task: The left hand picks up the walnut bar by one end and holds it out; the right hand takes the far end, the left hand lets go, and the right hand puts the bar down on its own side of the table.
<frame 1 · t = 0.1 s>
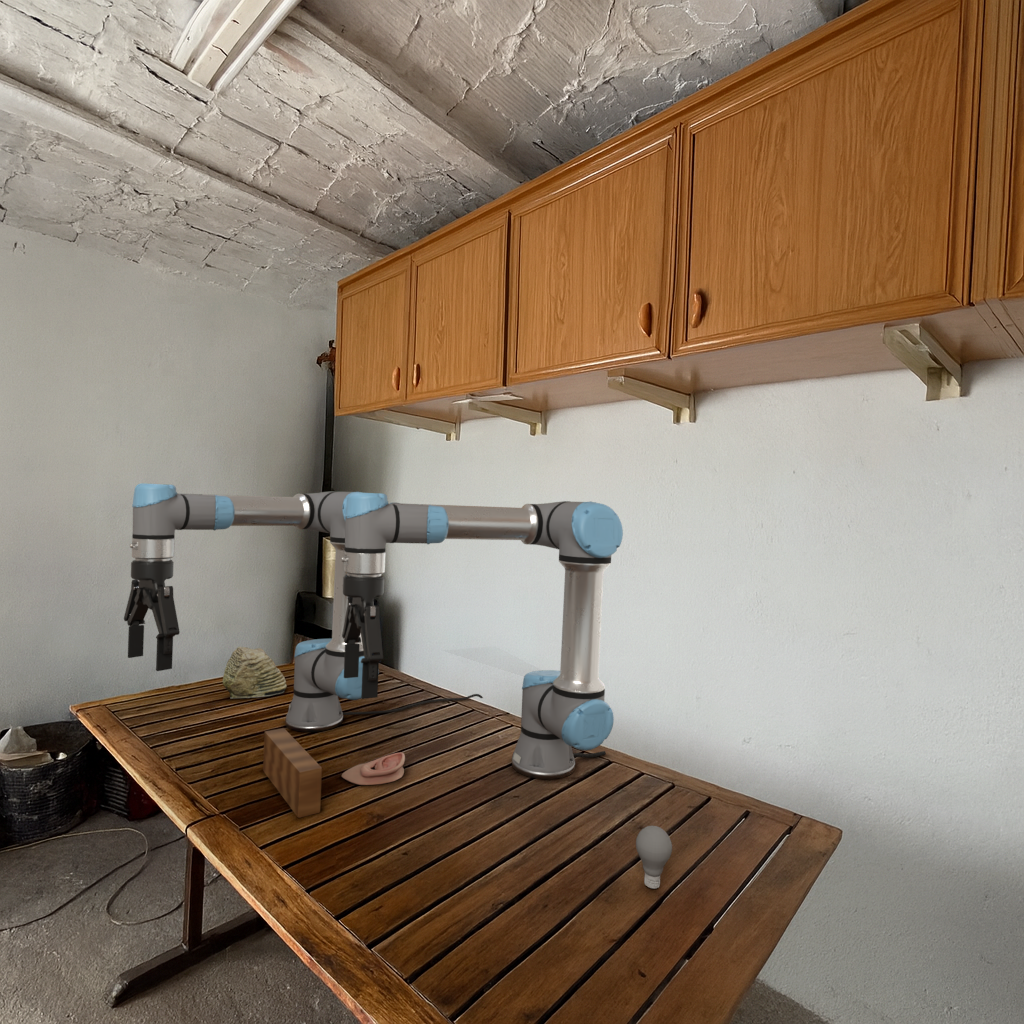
left hand: (149, 663, 129), 28 cm above the table, tool pointing down, fingers open, 13 cm apart
right hand: (359, 687, 119), 28 cm above the table, tool pointing down, fingers open, 13 cm apart
light bulb: (651, 887, 107), on the table
bar: (289, 790, 136), on the table
anatomical model: (373, 775, 145), on the table
fossil: (254, 694, 198), on the table
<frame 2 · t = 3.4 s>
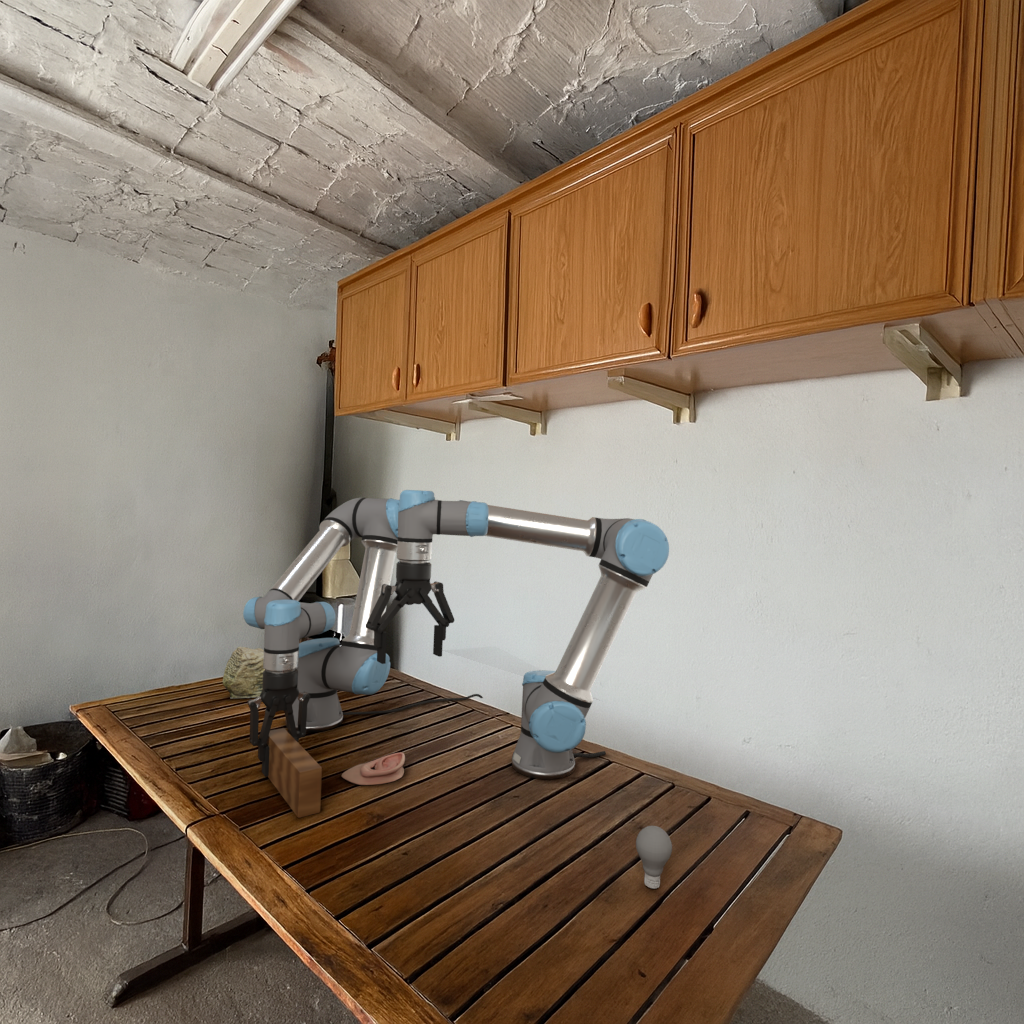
left hand: (276, 771, 144), 1 cm above the table, tool pointing down, fingers closed on bar, 4 cm apart
right hand: (410, 658, 138), 29 cm above the table, tool pointing down, fingers open, 13 cm apart
bar: (289, 790, 136), on the table, touching left hand
everything else where it was.
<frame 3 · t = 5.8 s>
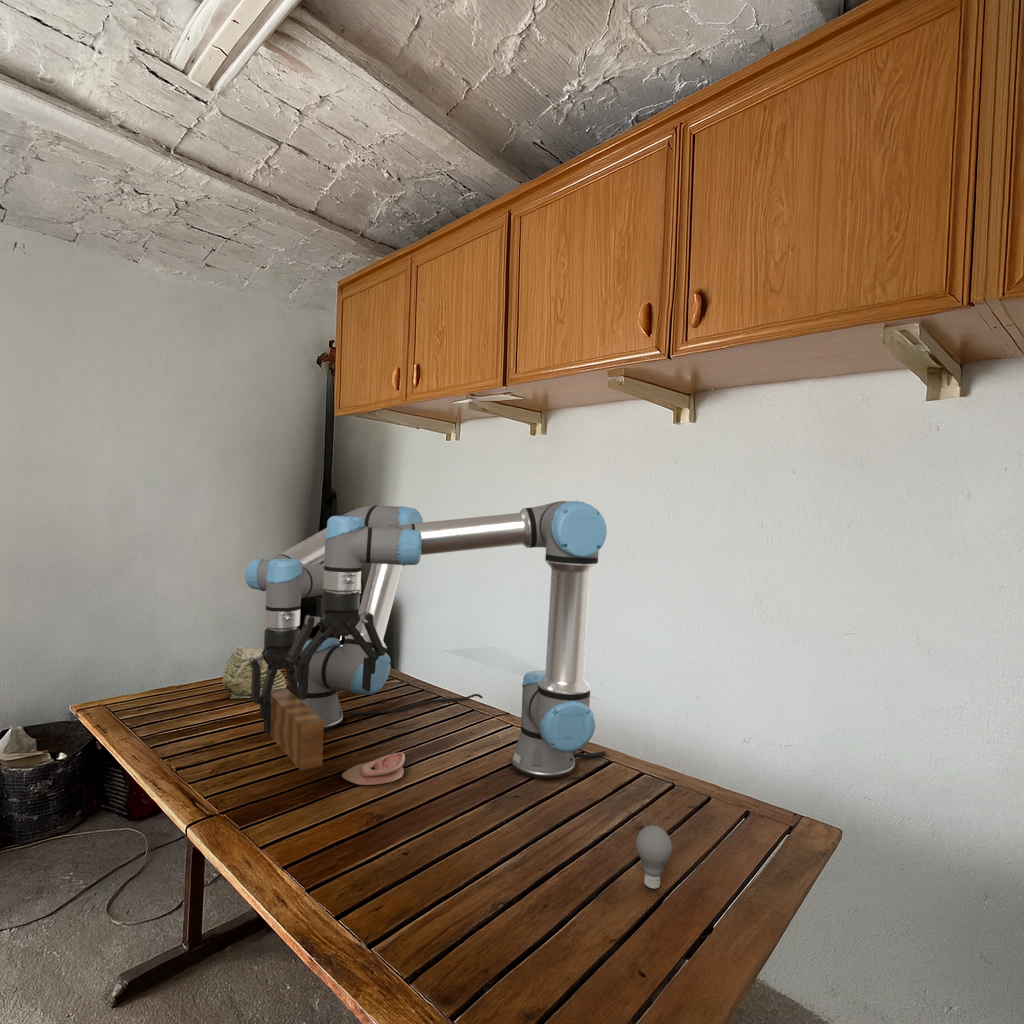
left hand: (278, 729, 144), 10 cm above the table, tool pointing down, fingers closed on bar, 4 cm apart
right hand: (334, 693, 131), 23 cm above the table, tool pointing down, fingers open, 13 cm apart
bar: (291, 746, 136), point 9 cm above the table, touching left hand
everything else where it was.
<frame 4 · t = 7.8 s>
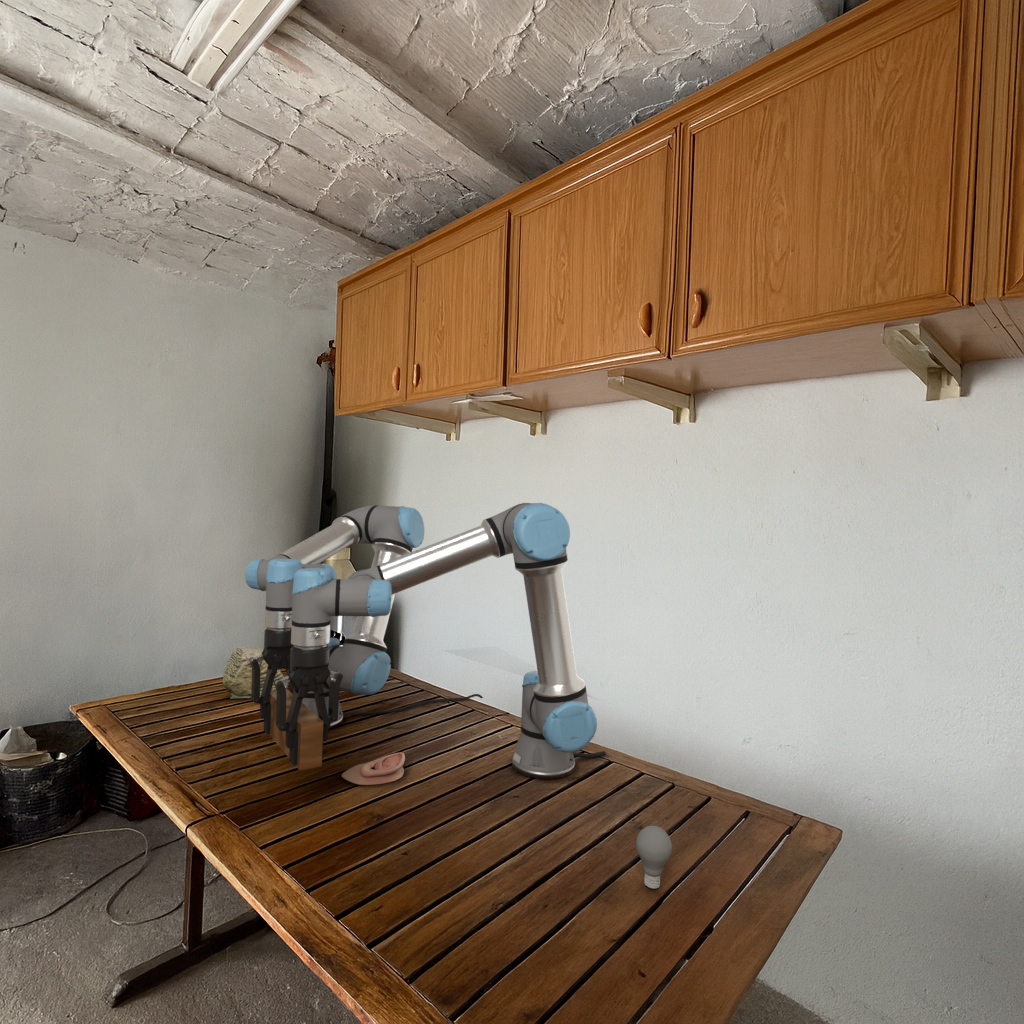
left hand: (278, 729, 144), 10 cm above the table, tool pointing down, fingers closed on bar, 4 cm apart
right hand: (306, 759, 128), 10 cm above the table, tool pointing down, fingers closed on bar, 4 cm apart
bar: (291, 746, 136), point 9 cm above the table, touching left hand, right hand
everything else where it was.
when the left hand's fingers open (10 cm above the table, at t = 8.5 s): bar stays where it is, held by the right hand.
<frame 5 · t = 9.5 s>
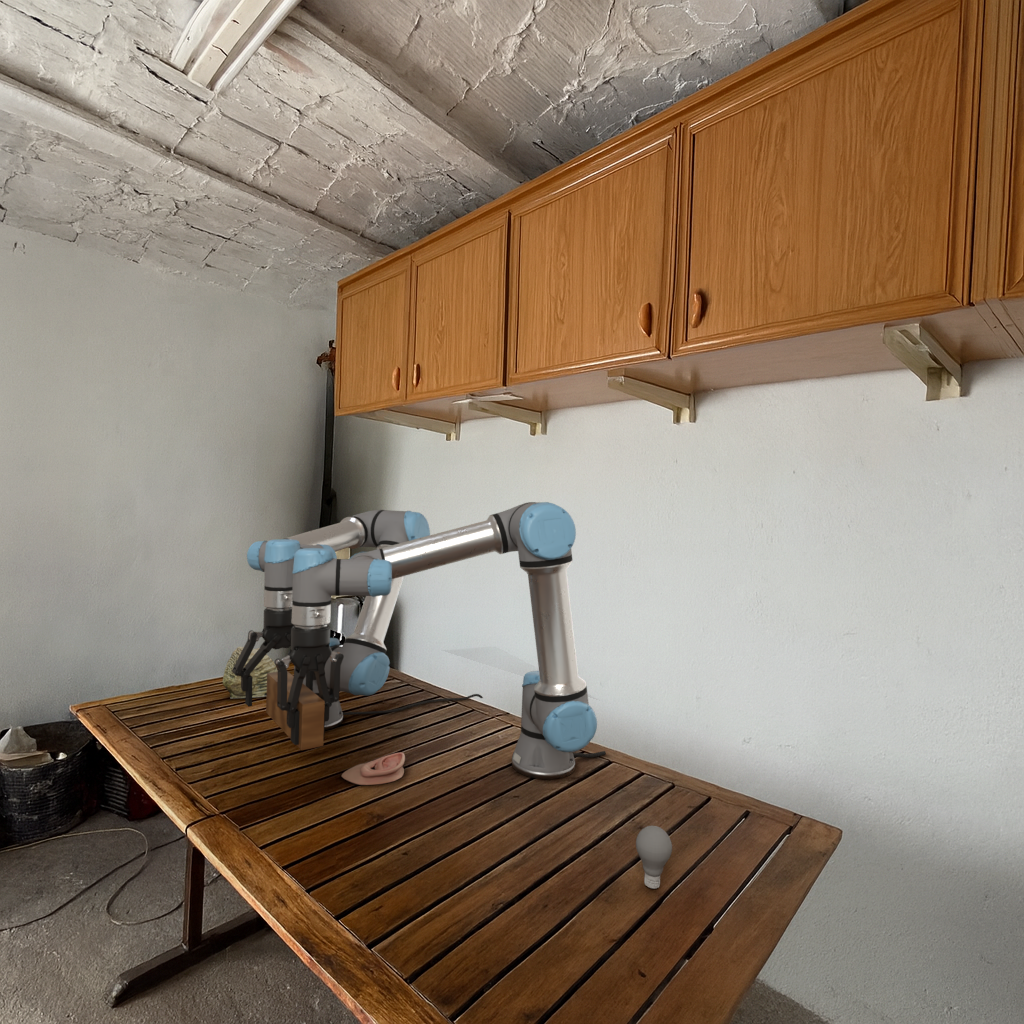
left hand: (279, 699, 145), 16 cm above the table, tool pointing down, fingers open, 13 cm apart
right hand: (307, 739, 128), 14 cm above the table, tool pointing down, fingers closed on bar, 4 cm apart
bar: (292, 728, 136), point 13 cm above the table, touching right hand
everything else where it was.
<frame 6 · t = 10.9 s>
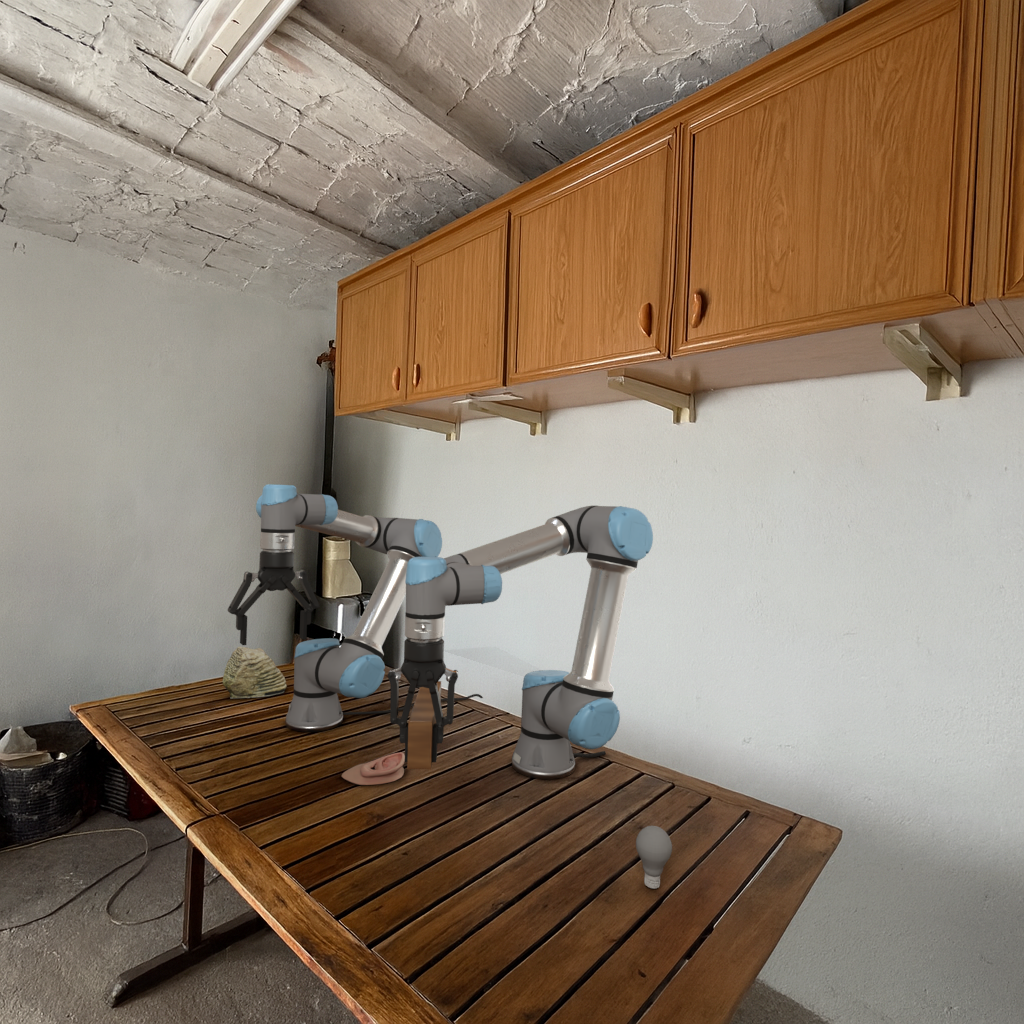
left hand: (273, 641, 148), 29 cm above the table, tool pointing down, fingers open, 13 cm apart
right hand: (421, 758, 121), 14 cm above the table, tool pointing down, fingers closed on bar, 4 cm apart
bar: (425, 742, 131), point 13 cm above the table, touching right hand
everything else where it was.
when the right hand's fingers open (2 cm above the table, at t = 14.3 s): bar drops 1 cm, on the table.
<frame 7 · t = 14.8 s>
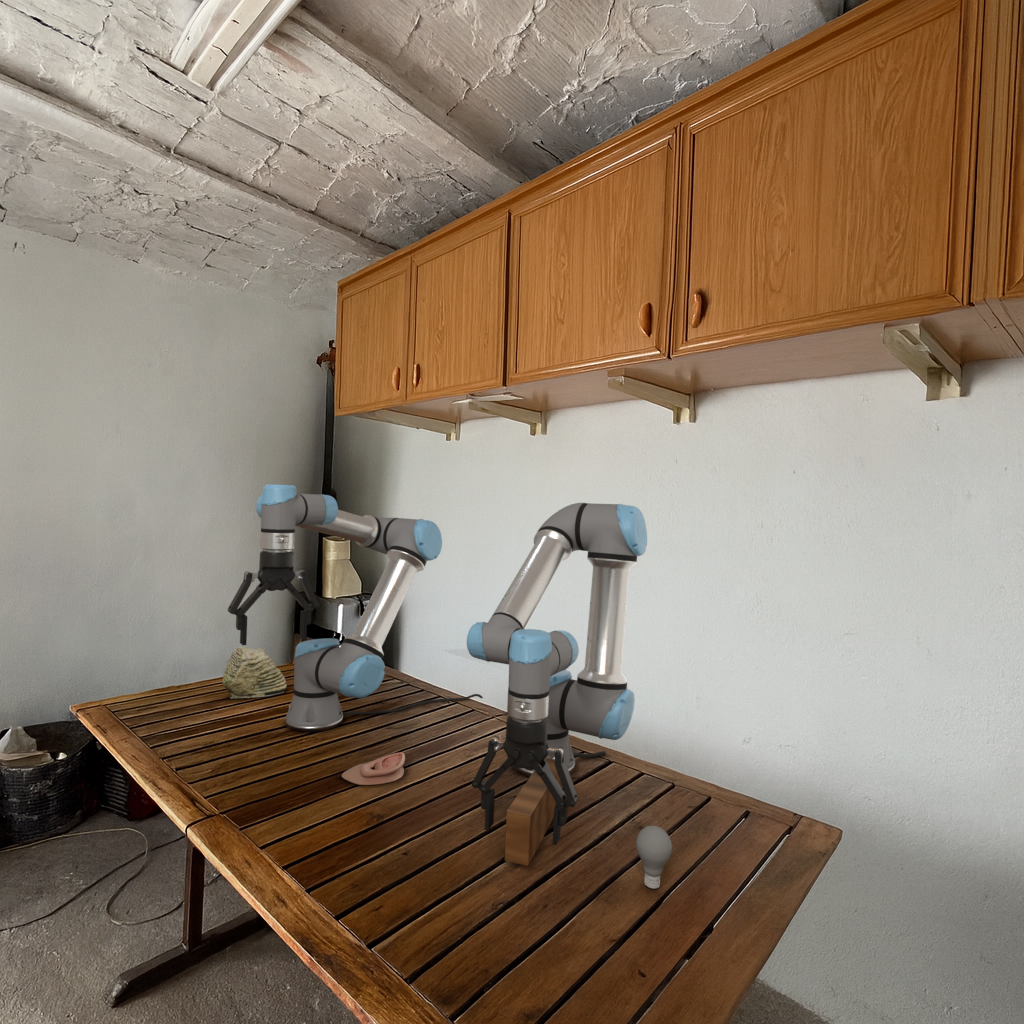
left hand: (273, 641, 148), 29 cm above the table, tool pointing down, fingers open, 13 cm apart
right hand: (522, 834, 115), 4 cm above the table, tool pointing down, fingers open, 12 cm apart
bar: (535, 829, 124), on the table
everything else where it was.
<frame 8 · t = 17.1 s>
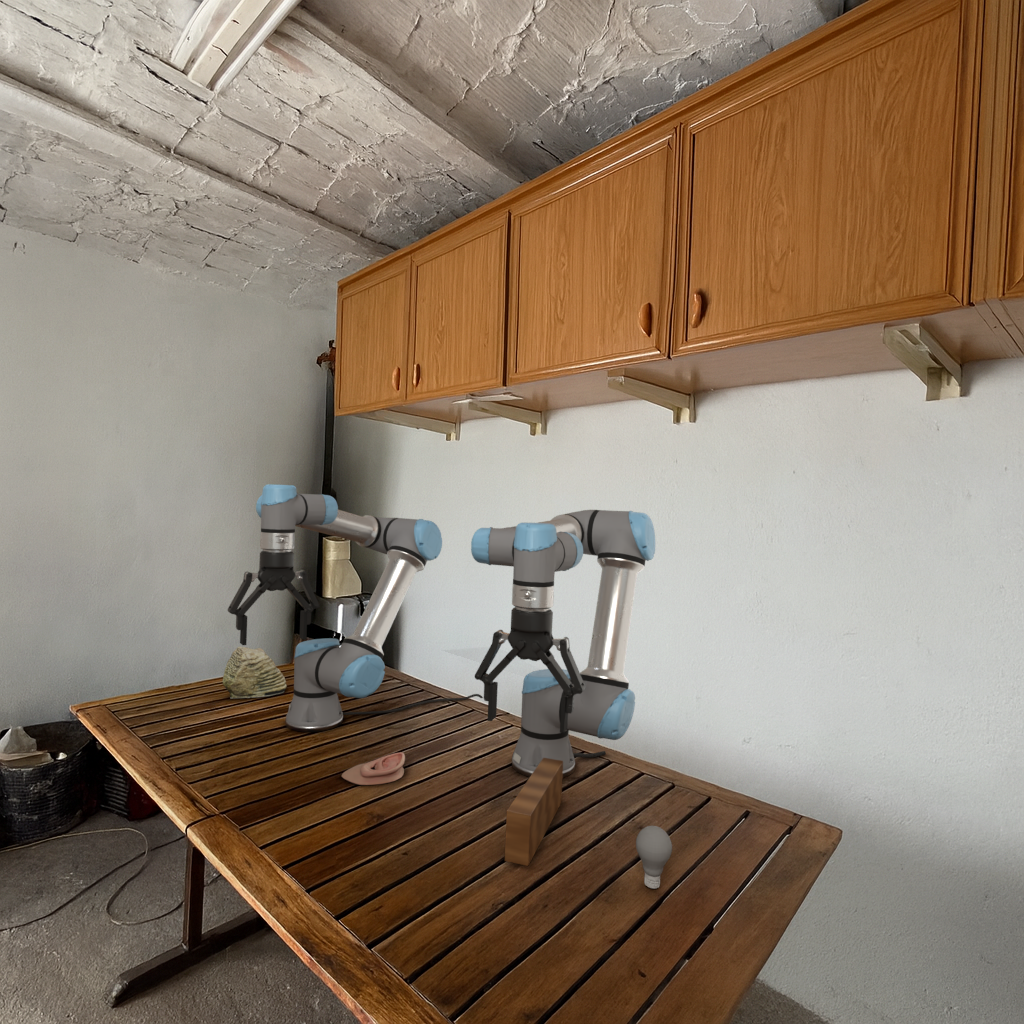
left hand: (273, 641, 148), 29 cm above the table, tool pointing down, fingers open, 13 cm apart
right hand: (527, 724, 115), 24 cm above the table, tool pointing down, fingers open, 13 cm apart
nothing on the table moved.
at the end: bar inside the target area (9.4 cm from its centre), on the table; the left hand is holding nothing; the right hand is holding nothing; bar at rest at the end (0.0 cm/s) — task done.
